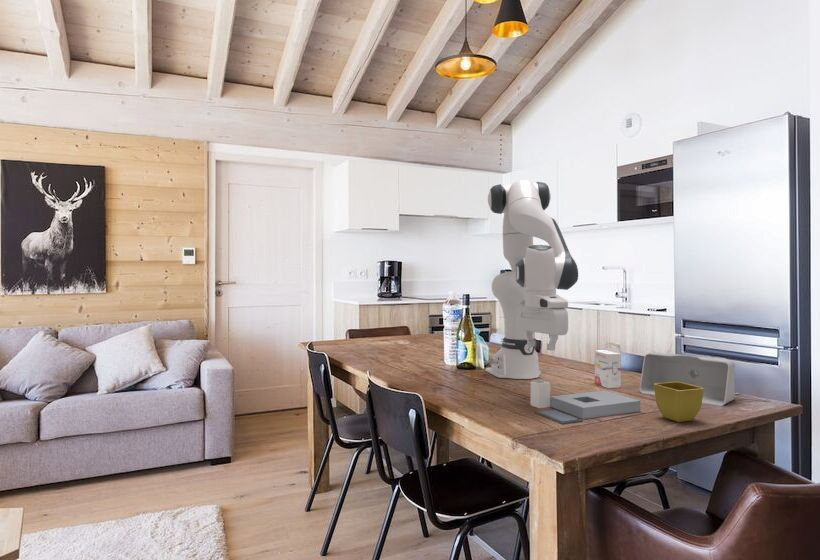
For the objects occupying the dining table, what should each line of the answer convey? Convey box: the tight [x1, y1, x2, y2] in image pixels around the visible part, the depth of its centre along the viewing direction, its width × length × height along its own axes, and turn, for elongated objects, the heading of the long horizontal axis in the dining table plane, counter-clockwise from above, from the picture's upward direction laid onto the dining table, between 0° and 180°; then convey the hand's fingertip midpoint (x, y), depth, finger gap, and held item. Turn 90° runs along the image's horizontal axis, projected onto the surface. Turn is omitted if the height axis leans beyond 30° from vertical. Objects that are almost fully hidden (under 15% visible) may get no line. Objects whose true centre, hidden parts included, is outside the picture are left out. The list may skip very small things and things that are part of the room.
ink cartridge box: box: [594, 341, 622, 389], centre depth 185 cm, size 9×5×15 cm, turn 14°
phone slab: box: [534, 408, 584, 425], centre depth 145 cm, size 12×6×1 cm, turn 22°
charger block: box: [530, 379, 551, 409], centre depth 157 cm, size 4×4×8 cm
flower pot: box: [654, 382, 704, 423], centre depth 143 cm, size 9×9×9 cm
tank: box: [638, 351, 736, 407], centre depth 171 cm, size 25×16×12 cm, turn 44°
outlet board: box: [549, 390, 641, 420], centre depth 154 cm, size 14×20×3 cm
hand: (540, 348), depth 157 cm, fingers open, 8 cm apart
